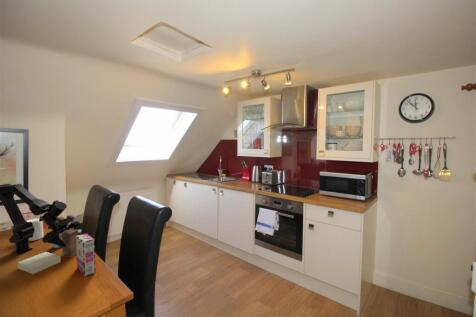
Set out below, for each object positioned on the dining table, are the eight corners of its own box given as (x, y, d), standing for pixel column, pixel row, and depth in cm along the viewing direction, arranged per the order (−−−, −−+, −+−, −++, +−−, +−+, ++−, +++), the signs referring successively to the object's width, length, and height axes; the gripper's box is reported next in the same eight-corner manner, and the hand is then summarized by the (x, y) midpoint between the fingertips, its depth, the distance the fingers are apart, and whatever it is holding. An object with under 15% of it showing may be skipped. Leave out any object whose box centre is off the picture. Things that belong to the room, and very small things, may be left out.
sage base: (18, 268, 114) (17, 262, 114) (46, 257, 125) (45, 251, 125) (32, 274, 109) (32, 268, 109) (60, 261, 120) (60, 256, 120)
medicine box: (57, 248, 135) (57, 233, 134) (51, 247, 136) (50, 233, 135) (70, 242, 143) (69, 228, 142) (64, 241, 143) (63, 228, 143)
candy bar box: (96, 272, 111) (95, 239, 110) (84, 277, 107) (82, 242, 106) (88, 264, 118) (87, 232, 117) (76, 268, 115) (75, 235, 113)
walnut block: (62, 256, 126) (61, 232, 125) (70, 252, 131) (69, 229, 130) (71, 257, 125) (70, 233, 124) (78, 252, 130) (77, 229, 129)
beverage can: (29, 242, 142) (28, 223, 141) (24, 239, 146) (23, 220, 145) (45, 237, 149) (44, 219, 148) (40, 235, 153) (39, 217, 152)
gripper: (45, 217, 117) (66, 240, 117) (76, 206, 136) (94, 226, 135) (32, 232, 119) (53, 254, 118) (64, 219, 137) (82, 239, 137)
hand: (72, 242), depth 127 cm, fingers open, 9 cm apart
